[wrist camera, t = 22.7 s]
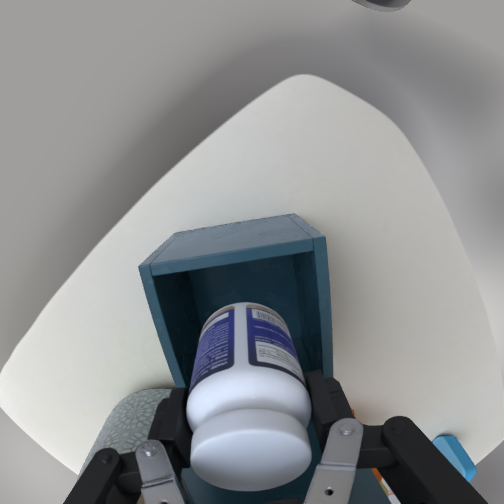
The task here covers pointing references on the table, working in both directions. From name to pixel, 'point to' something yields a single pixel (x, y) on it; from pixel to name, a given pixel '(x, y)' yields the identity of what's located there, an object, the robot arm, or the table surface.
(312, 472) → the lid
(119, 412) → the planter
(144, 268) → the chest
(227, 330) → the pill bottle
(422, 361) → the table surface
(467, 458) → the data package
